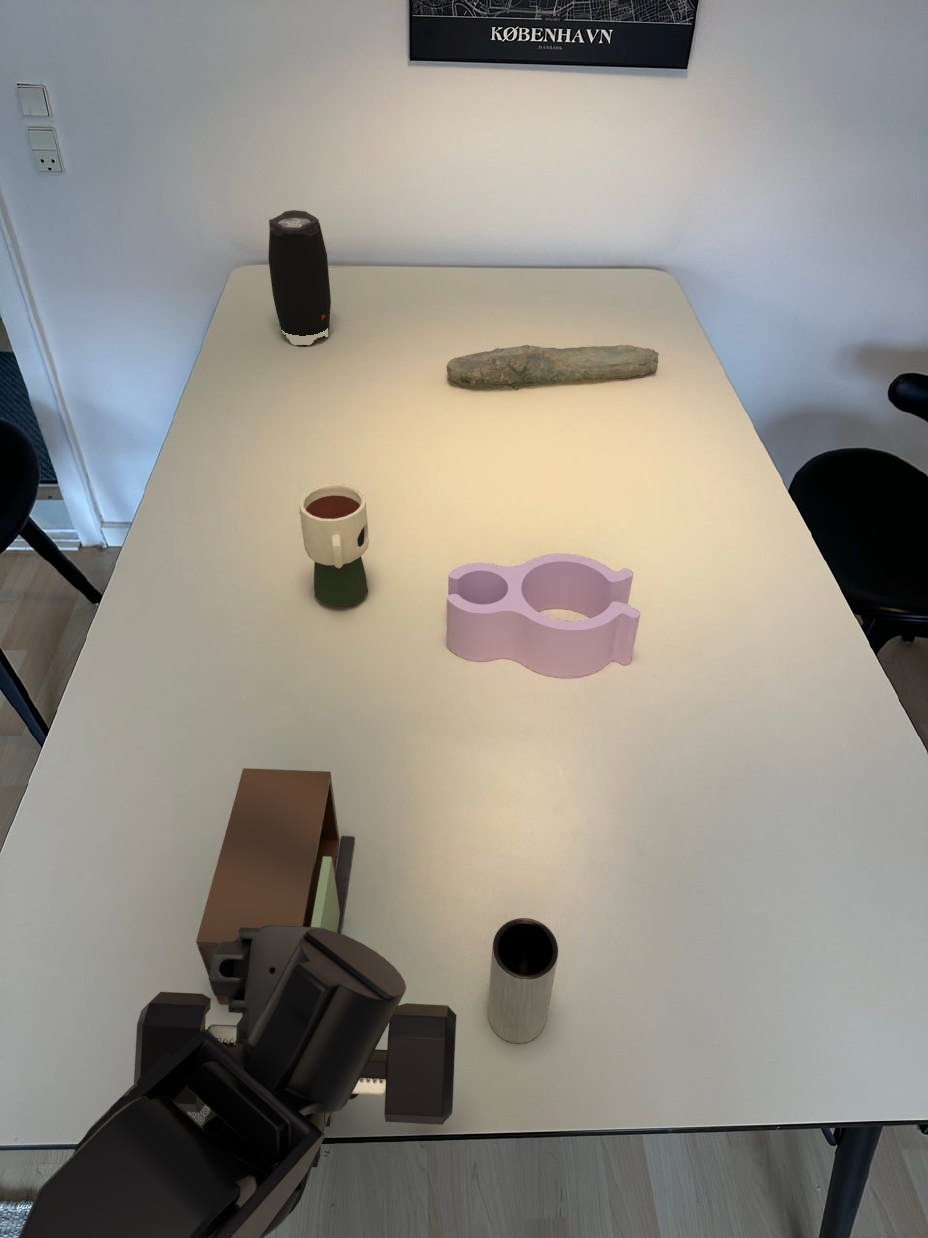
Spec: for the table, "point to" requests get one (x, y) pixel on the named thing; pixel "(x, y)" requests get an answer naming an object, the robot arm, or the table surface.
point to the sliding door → (326, 899)
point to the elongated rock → (550, 365)
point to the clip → (514, 629)
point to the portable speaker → (299, 273)
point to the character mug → (336, 542)
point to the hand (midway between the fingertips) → (322, 1004)
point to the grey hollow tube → (521, 979)
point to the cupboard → (274, 856)
